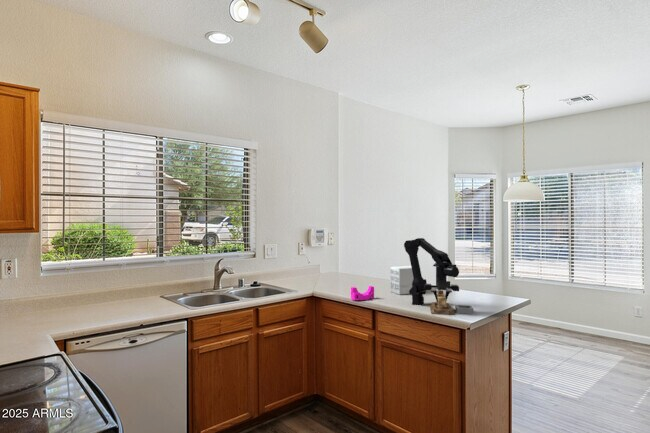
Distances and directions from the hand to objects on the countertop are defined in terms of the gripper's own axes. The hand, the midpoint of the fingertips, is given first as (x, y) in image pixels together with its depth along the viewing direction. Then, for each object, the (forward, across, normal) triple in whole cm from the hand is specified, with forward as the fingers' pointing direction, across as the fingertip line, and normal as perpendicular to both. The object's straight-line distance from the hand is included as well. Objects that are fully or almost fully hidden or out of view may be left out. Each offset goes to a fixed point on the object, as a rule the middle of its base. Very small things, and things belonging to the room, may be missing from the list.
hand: (441, 302), depth 220 cm
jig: (+4, 0, 0) cm, 4 cm away
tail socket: (+4, +12, -2) cm, 13 cm away
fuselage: (+1, 0, 0) cm, 1 cm away
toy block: (+5, -47, +23) cm, 53 cm away
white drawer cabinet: (+5, -21, +51) cm, 55 cm away
